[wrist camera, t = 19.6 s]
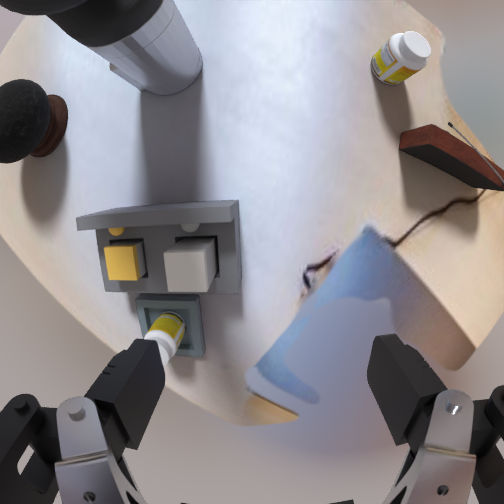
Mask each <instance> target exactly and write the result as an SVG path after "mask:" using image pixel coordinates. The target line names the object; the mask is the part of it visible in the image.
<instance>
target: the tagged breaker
mask: <svg viewBox="0 0 504 504" xmlns="http://www.w3.org/2000/svg"><path fill="white" fill-rule="evenodd" d="M104 252H105V259H106V265H107V271H108V277H109V280H138V279H139V278H141V277H142V276H143V275H144V274H145V273H147V272H148V270H147V262H146V254H145V246H144V238H134V239H121V240H119V241H117V242H115V243H113V244H111V245H109V246H107V247H104Z"/></svg>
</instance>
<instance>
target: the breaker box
mask: <svg viewBox="0 0 504 504" xmlns="http://www.w3.org/2000/svg"><path fill="white" fill-rule="evenodd" d="M76 223H77V231H79V230H92V229H96V237H97V245H98V252H99V258H100V265H101V270H102V276H103V281H104V287H105V291H106V292H130V293H168V294H238V292H239V287H240V282H241V277H242V276H241V253H240V229H239V203H238V200H222V201H202V202H185V203H170V204H156V205H144V206H133V207H122V208H114V209H110V210H105V211H101V212H97V213H93V214H89V215H85V216H81V217H77V218H76ZM213 235H217V236H218V253H219V263H218V265H219V268H218V270H217V272H216V274H215V276H214V278H213V280H212V282H211V284H210V287H209V289H208V291H207V292H168V286H167V278H166V271H165V262H164V252H165V251H167V250H168V249H169V248H171V247H172V246H173V245H175V244H176V243H177V242H179V241H180V240H181V239H183V238H184V237H188V236H213ZM134 238H144V246H145V254H146V262H147V270H148V272H147V273H145V274H144V275H143V276H142V277H141V278H139V279H138V280H109V277H108V271H107V265H106V259H105V252H104V247H107V246H109V245H111V244H113V243H115V242H117V241H119V240H121V239H134Z"/></svg>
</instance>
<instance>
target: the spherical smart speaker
mask: <svg viewBox="0 0 504 504" xmlns="http://www.w3.org/2000/svg"><path fill="white" fill-rule="evenodd" d="M67 121H68V109H67V105H66V103H65V101H64V99H63V98H61V97H60V96H57V95H48V96H47V95H46V93H45V91H44V90H43V88H42V87H41V86H40V85H38V84H37V83H35V82H33V81H31V80H25V79H18V80H13V81H10V82H8V83H5V84H4V85H2V86H1V87H0V163H13V162H16V161H19V160H21V159H23V158H25V157H26V156H28V155H29V154H31V155H32V156H34V157H45V156H47V155H49V154H50V153H51V152H53V151H54V150H55V148H56V147H57V146H58V144H59V143H60V141H61V139H62V137H63V135H64V133H65V130H66V126H67Z"/></svg>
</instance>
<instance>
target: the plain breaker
mask: <svg viewBox="0 0 504 504" xmlns="http://www.w3.org/2000/svg"><path fill="white" fill-rule="evenodd" d="M164 262H165V271H166V278H167V286H168V292H207V291H208V289H209V287H210V284H211V282H212V280H213V278H214V276H215V274H216V272H217V270H218V268H219V265H218V249H217V236H191V237H184V238H183V239H181V240H180V241H179V242H177V243H176V244H175V245H173V246H172V247H171V248H169V249H168V250H167V251H165V252H164Z"/></svg>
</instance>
